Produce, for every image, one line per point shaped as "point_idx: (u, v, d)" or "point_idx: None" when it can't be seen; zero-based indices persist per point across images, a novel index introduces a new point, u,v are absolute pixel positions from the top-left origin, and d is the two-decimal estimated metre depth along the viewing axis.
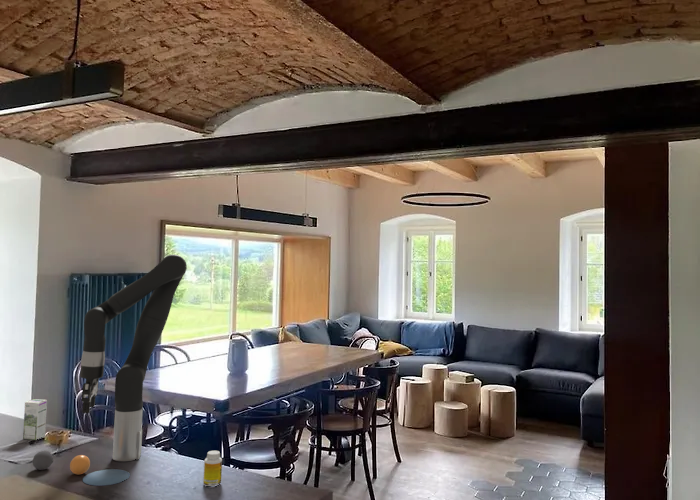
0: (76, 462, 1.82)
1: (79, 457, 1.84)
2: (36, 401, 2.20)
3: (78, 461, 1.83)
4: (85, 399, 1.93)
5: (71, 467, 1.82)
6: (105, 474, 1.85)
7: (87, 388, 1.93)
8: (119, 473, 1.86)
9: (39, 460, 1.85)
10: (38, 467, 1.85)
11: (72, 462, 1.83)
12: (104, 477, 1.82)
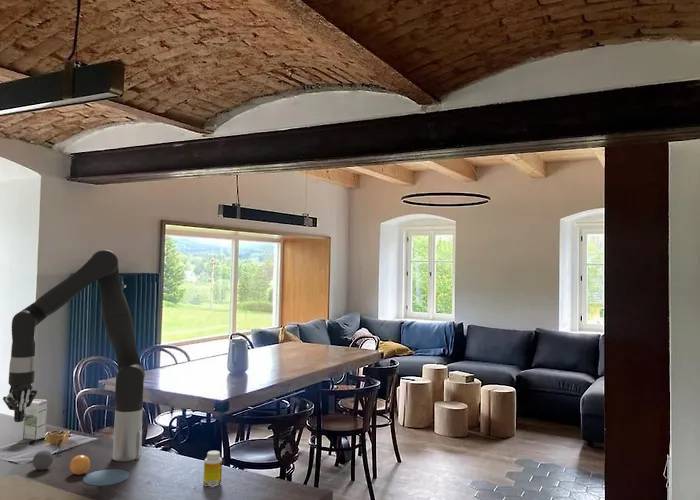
0: (76, 462, 1.82)
1: (79, 457, 1.84)
2: (36, 401, 2.20)
3: (78, 461, 1.83)
4: (12, 407, 1.87)
5: (71, 467, 1.82)
6: (105, 474, 1.85)
7: (8, 401, 1.85)
8: (119, 473, 1.86)
9: (39, 460, 1.85)
10: (38, 467, 1.85)
11: (72, 462, 1.83)
12: (104, 477, 1.82)
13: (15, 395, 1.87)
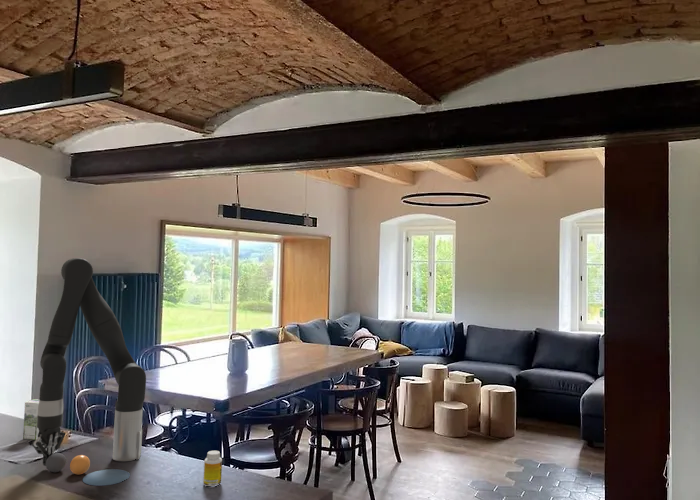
0: (76, 462, 1.82)
1: (79, 457, 1.84)
2: (36, 401, 2.20)
3: (78, 461, 1.83)
4: (41, 452, 1.85)
5: (71, 467, 1.82)
6: (105, 474, 1.85)
7: (36, 446, 1.83)
8: (119, 473, 1.86)
9: (52, 469, 1.83)
10: (46, 467, 1.84)
11: (72, 462, 1.83)
12: (104, 477, 1.82)
13: (43, 439, 1.85)
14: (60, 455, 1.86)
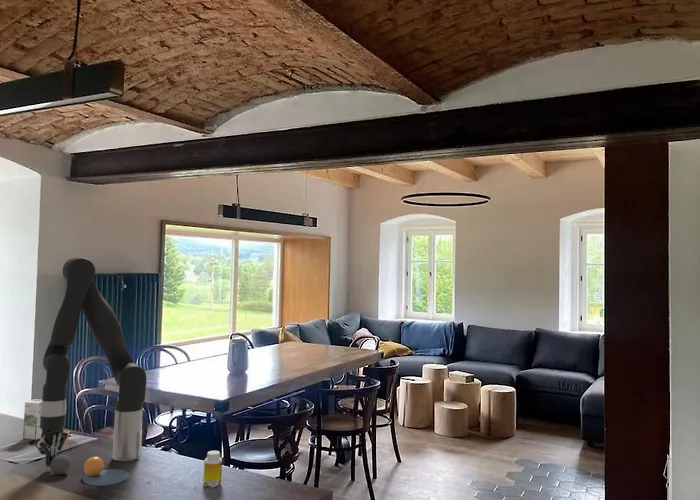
0: (92, 472, 1.81)
1: (99, 470, 1.82)
2: (36, 401, 2.20)
3: (94, 472, 1.81)
4: (44, 452, 1.84)
5: (89, 465, 1.81)
6: (105, 474, 1.85)
7: (40, 447, 1.82)
8: (119, 473, 1.86)
9: None
10: (50, 466, 1.82)
11: (93, 466, 1.81)
12: (104, 477, 1.82)
13: (47, 440, 1.84)
14: (67, 465, 1.83)
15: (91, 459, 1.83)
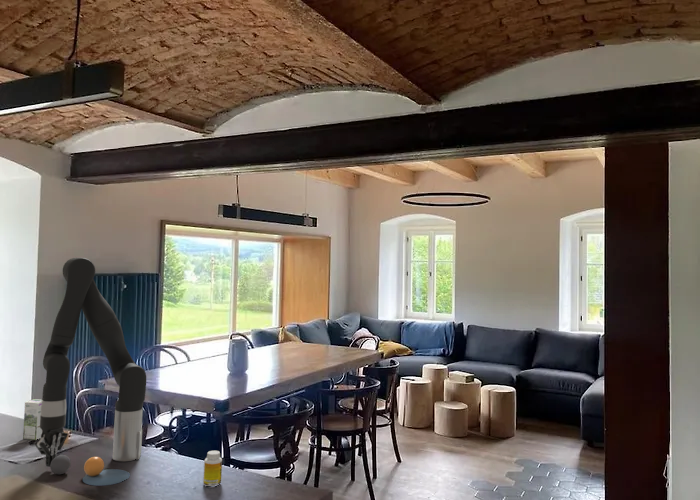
0: (92, 472, 1.81)
1: (99, 470, 1.82)
2: (36, 401, 2.20)
3: (94, 472, 1.81)
4: (44, 452, 1.84)
5: (89, 465, 1.81)
6: (105, 474, 1.85)
7: (40, 447, 1.82)
8: (119, 473, 1.86)
9: None
10: (50, 466, 1.82)
11: (93, 466, 1.81)
12: (104, 477, 1.82)
13: (47, 440, 1.84)
14: (67, 465, 1.83)
15: (91, 459, 1.83)
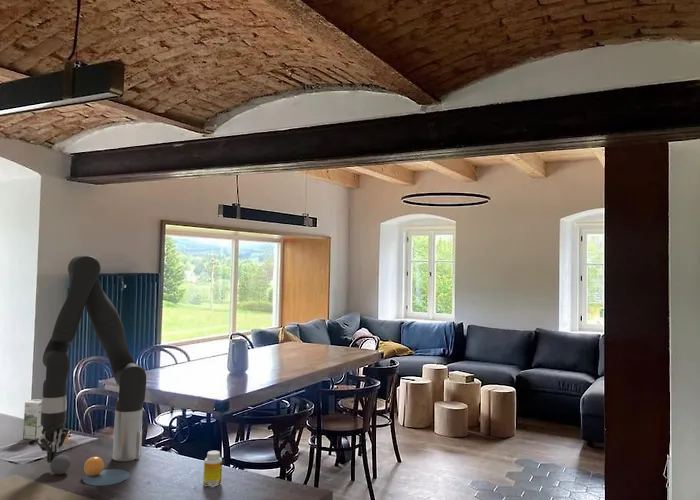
0: (92, 472, 1.81)
1: (99, 470, 1.82)
2: (36, 401, 2.20)
3: (94, 472, 1.81)
4: (45, 449, 1.84)
5: (89, 465, 1.81)
6: (105, 474, 1.85)
7: (41, 443, 1.82)
8: (119, 473, 1.86)
9: None
10: (50, 466, 1.82)
11: (93, 466, 1.81)
12: (104, 477, 1.82)
13: (48, 436, 1.84)
14: (67, 465, 1.83)
15: (91, 459, 1.83)
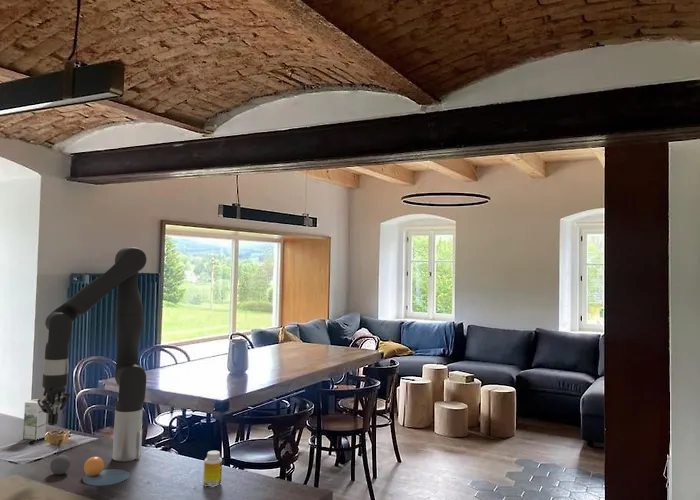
0: (92, 472, 1.81)
1: (99, 470, 1.82)
2: (36, 401, 2.20)
3: (94, 472, 1.81)
4: (46, 411, 1.85)
5: (89, 465, 1.81)
6: (105, 474, 1.85)
7: (42, 405, 1.82)
8: (119, 473, 1.86)
9: None
10: (50, 466, 1.82)
11: (93, 466, 1.81)
12: (104, 477, 1.82)
13: (49, 398, 1.84)
14: (67, 465, 1.83)
15: (91, 459, 1.83)
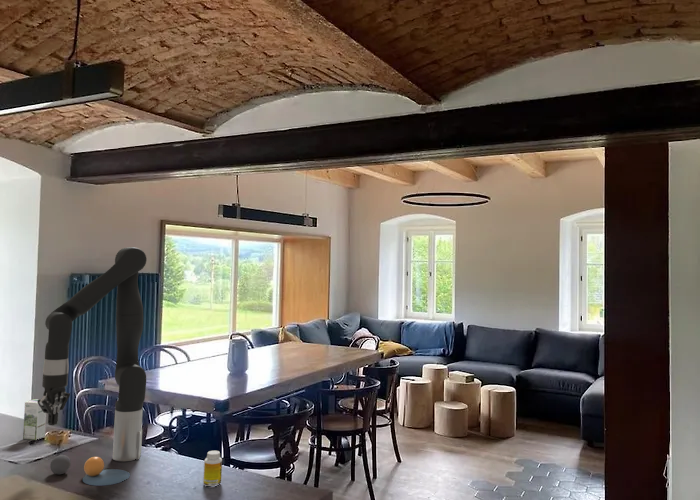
0: (92, 472, 1.81)
1: (99, 470, 1.82)
2: (36, 401, 2.20)
3: (94, 472, 1.81)
4: (46, 411, 1.84)
5: (89, 465, 1.81)
6: (105, 474, 1.85)
7: (42, 405, 1.82)
8: (119, 473, 1.86)
9: None
10: (50, 466, 1.82)
11: (93, 466, 1.81)
12: (104, 477, 1.82)
13: (49, 398, 1.84)
14: (67, 465, 1.83)
15: (91, 459, 1.83)
